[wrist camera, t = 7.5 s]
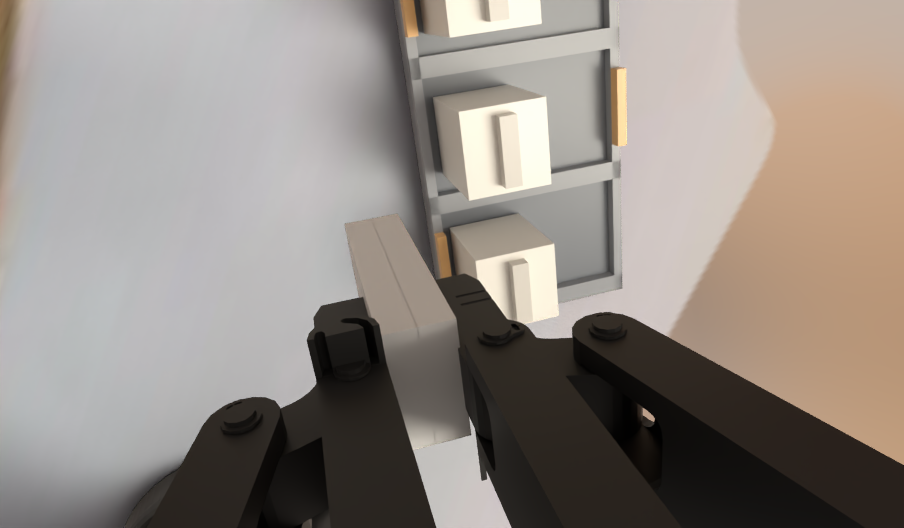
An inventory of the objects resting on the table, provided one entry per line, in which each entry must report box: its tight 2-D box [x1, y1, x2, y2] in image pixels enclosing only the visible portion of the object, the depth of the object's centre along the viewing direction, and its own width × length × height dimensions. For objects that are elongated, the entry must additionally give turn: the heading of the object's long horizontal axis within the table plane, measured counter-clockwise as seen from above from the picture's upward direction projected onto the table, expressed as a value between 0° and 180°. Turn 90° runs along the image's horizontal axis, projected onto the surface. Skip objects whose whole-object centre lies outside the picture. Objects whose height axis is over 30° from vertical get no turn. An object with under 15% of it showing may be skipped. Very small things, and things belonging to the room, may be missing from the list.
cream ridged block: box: [433, 85, 551, 201], centre depth 29 cm, size 4×4×6 cm
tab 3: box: [450, 213, 559, 324], centre depth 32 cm, size 4×4×6 cm
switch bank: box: [393, 0, 627, 304], centre depth 33 cm, size 11×22×2 cm, turn 8°
